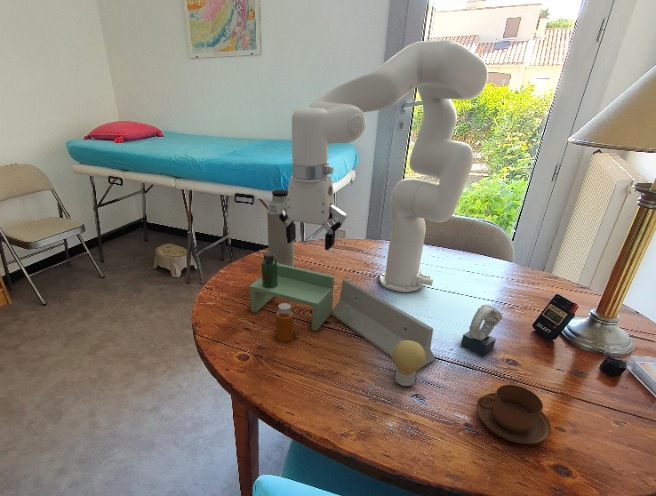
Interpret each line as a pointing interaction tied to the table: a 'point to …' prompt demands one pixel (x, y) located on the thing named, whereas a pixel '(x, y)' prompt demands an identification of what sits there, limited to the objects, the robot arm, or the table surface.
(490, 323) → the watch
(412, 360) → the light bulb
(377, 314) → the barrier
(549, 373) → the table surface
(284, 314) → the amber bottle
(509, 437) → the cup and saucer
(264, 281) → the green bottle
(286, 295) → the spice rack
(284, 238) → the thermos bottle
